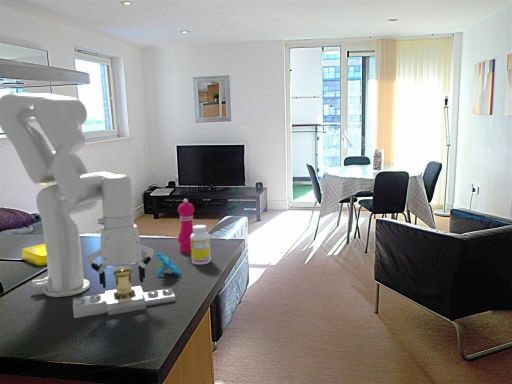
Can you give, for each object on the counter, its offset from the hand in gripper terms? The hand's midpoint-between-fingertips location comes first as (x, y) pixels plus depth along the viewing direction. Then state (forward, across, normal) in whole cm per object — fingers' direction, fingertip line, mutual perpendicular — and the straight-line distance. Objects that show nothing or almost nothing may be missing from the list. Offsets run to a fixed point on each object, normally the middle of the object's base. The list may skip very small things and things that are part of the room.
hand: (122, 283), depth 122 cm
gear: (+7, +18, +19) cm, 27 cm away
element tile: (+7, -21, +56) cm, 61 cm away
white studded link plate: (+6, 0, 0) cm, 6 cm away
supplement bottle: (+6, +28, +27) cm, 39 cm away
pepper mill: (+6, +27, +43) cm, 51 cm away
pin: (+6, 0, 0) cm, 6 cm away
